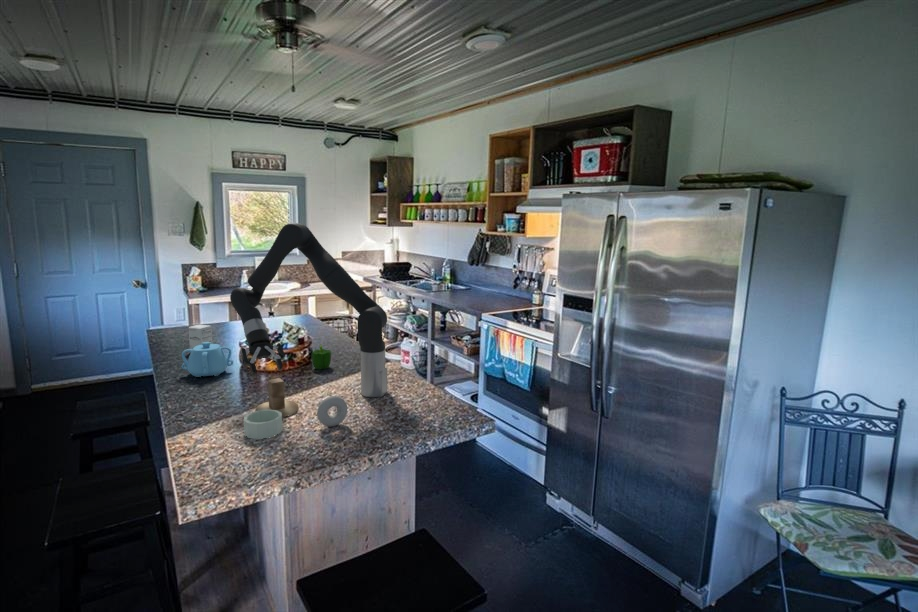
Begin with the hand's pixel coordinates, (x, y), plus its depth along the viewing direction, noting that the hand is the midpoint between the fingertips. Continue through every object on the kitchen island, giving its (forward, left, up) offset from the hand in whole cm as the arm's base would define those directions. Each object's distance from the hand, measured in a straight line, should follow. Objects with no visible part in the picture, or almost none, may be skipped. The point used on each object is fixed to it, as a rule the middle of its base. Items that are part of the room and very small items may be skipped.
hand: (268, 371), depth 178 cm
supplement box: (+68, -52, -12) cm, 87 cm away
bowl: (-11, +21, -12) cm, 26 cm away
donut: (-30, +12, -12) cm, 34 cm away
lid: (-6, +5, -12) cm, 14 cm away
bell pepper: (+1, -43, -12) cm, 45 cm away
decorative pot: (+43, -24, -12) cm, 51 cm away
